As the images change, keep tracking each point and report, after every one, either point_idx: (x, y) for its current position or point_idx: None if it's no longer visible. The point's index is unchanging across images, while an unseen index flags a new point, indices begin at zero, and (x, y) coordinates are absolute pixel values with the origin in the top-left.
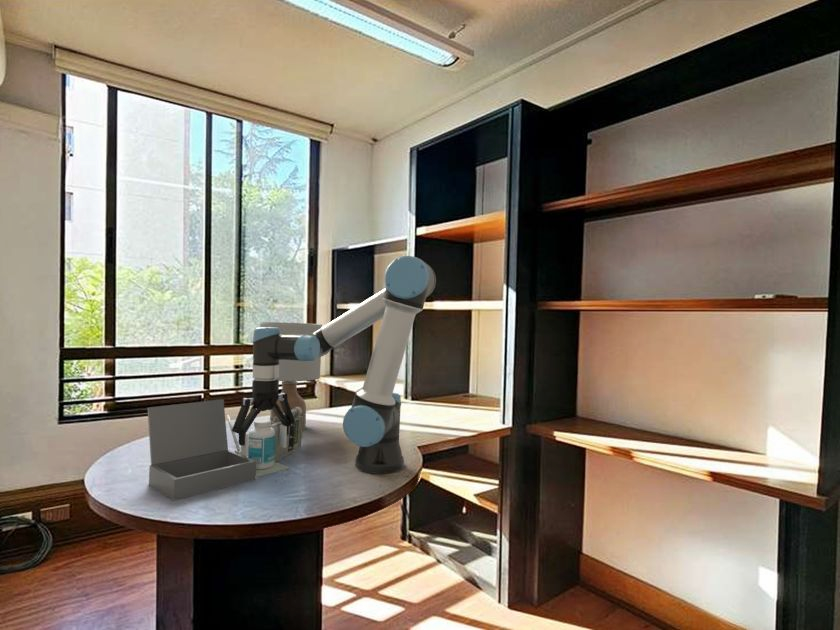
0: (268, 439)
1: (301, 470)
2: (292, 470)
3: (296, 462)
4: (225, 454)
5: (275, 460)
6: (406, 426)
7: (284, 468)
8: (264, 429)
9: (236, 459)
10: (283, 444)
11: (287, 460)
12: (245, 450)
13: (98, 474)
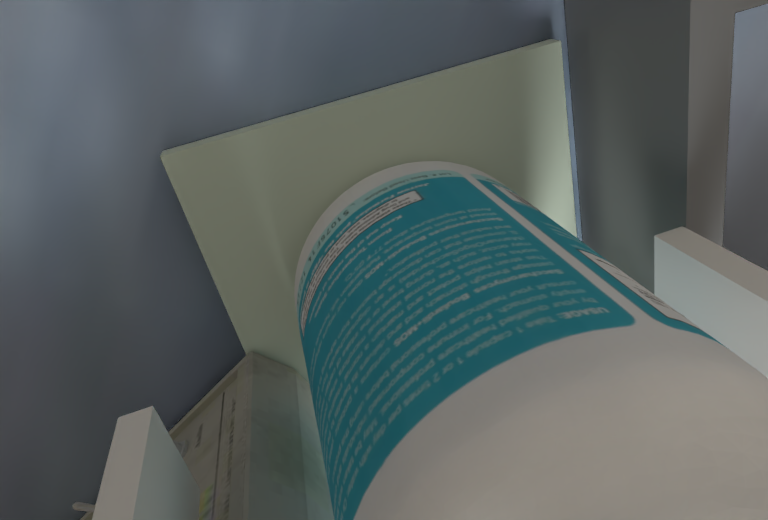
0: (539, 320)
1: (4, 16)
2: (121, 72)
3: (20, 319)
4: None
5: (250, 357)
6: None
7: (206, 140)
8: None
9: None
10: (156, 452)
11: (107, 402)
12: (745, 266)
13: None
